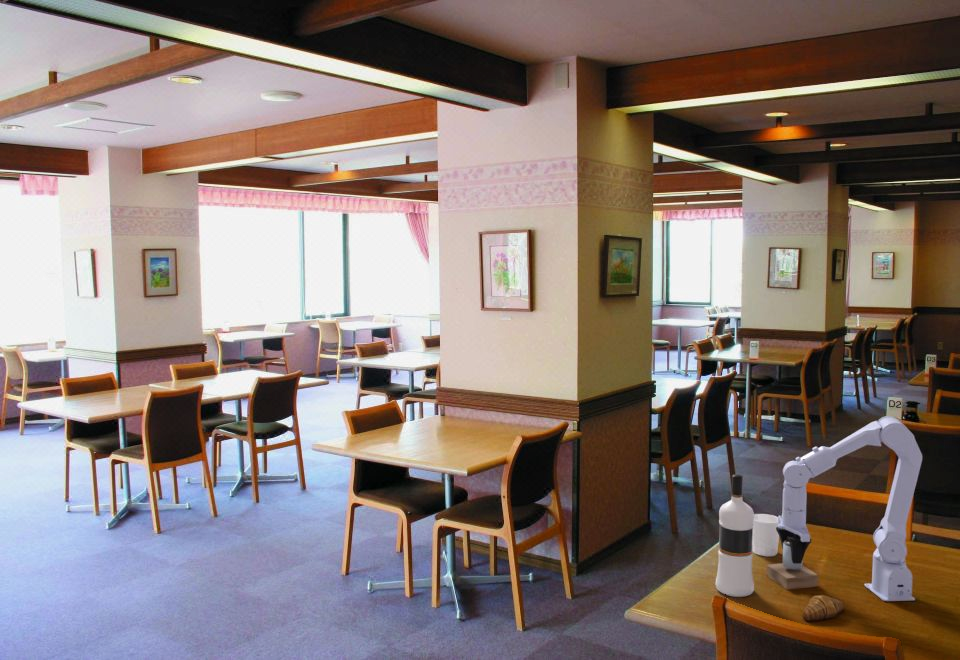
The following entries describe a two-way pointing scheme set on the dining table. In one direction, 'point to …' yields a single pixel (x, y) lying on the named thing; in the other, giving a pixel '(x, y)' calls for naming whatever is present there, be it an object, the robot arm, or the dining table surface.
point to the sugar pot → (789, 557)
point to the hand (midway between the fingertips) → (792, 559)
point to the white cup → (765, 535)
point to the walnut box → (792, 576)
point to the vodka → (735, 544)
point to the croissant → (822, 608)
